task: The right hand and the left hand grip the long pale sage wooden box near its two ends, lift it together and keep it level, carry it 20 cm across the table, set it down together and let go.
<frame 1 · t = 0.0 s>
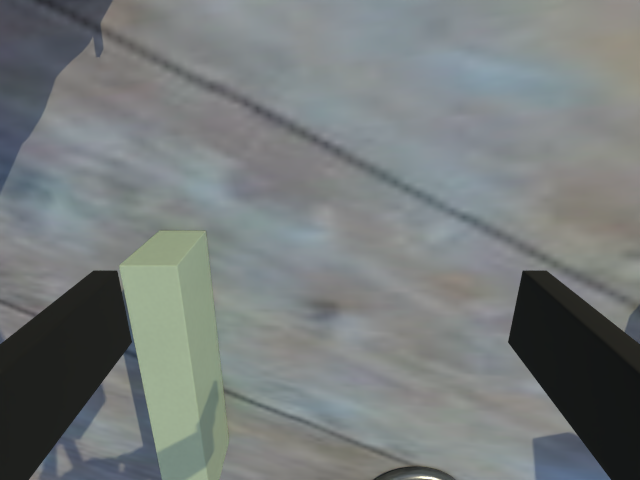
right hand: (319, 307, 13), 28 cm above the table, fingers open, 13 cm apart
sage box: (198, 347, 47), on the table
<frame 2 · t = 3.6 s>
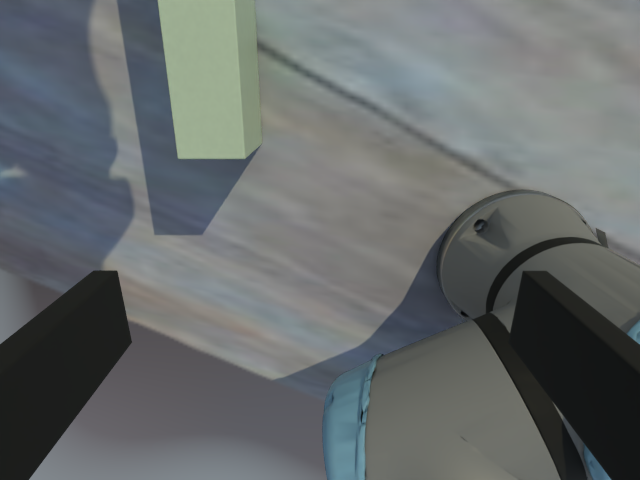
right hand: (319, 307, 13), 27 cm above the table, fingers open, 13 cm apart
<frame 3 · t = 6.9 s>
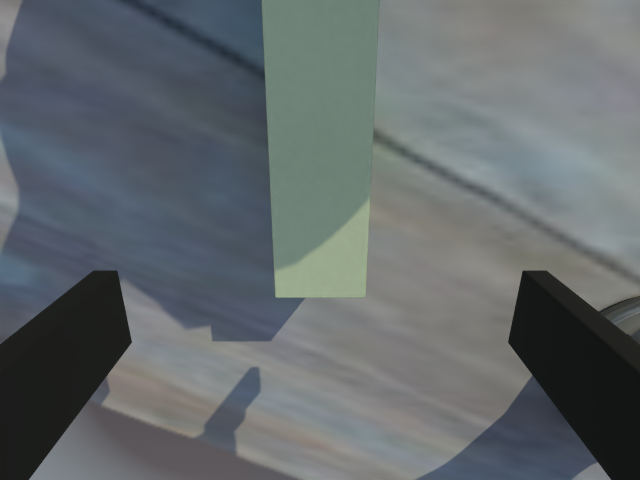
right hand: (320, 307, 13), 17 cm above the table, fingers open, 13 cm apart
sage box: (320, 18, 25), on the table, touching left hand
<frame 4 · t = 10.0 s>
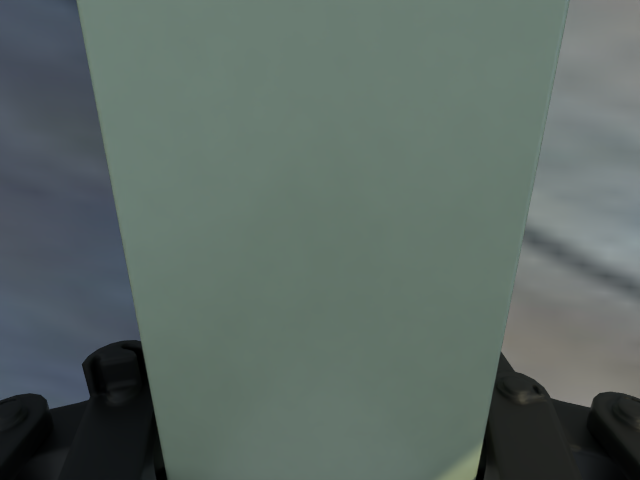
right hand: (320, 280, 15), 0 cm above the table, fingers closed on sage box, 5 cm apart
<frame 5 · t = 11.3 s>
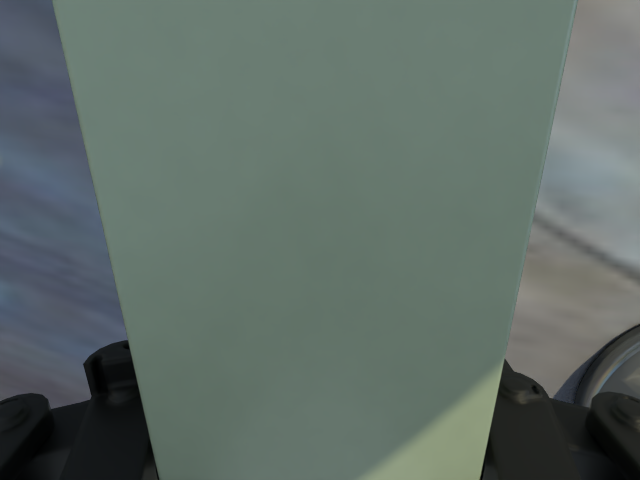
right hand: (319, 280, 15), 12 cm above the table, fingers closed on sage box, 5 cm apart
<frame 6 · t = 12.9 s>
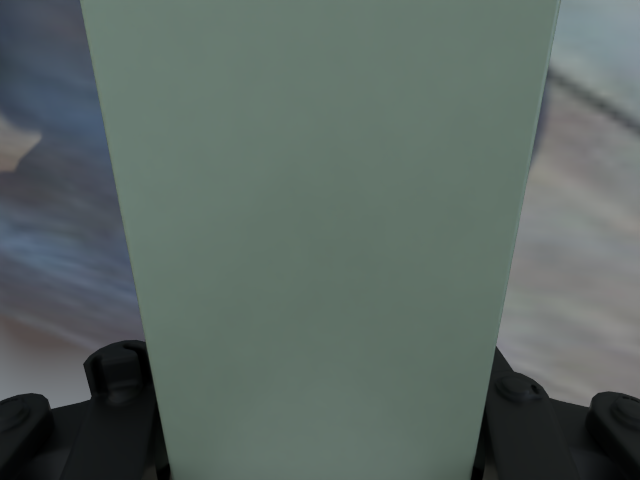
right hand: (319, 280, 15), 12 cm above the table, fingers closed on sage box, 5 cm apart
when the right hand's fingers open (1 cm above the table, at t = 15.8 s): sage box stays where it is, on the table.
when the left hand's fingers open (5 cm above the table, at t = 15.9 s): sage box stays where it is, on the table.
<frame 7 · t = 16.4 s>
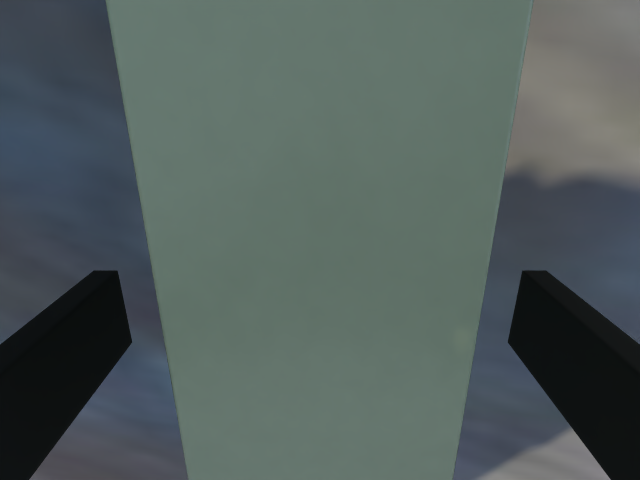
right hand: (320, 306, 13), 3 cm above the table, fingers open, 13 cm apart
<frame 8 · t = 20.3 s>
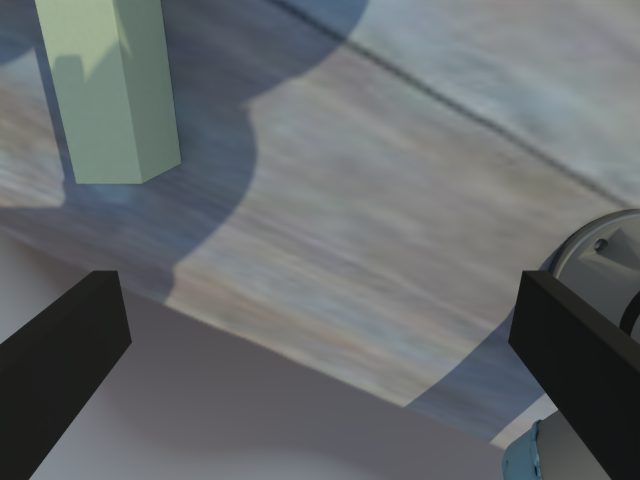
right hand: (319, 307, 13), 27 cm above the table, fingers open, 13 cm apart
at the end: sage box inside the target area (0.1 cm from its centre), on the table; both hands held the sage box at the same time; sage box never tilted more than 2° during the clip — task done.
